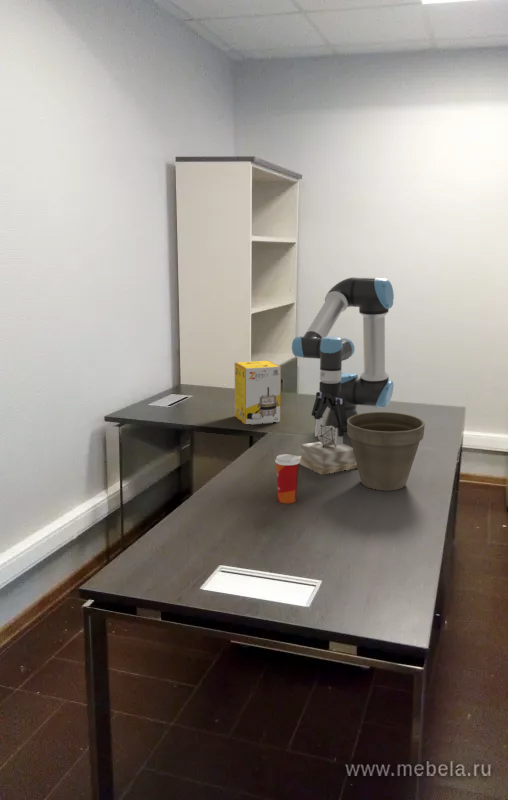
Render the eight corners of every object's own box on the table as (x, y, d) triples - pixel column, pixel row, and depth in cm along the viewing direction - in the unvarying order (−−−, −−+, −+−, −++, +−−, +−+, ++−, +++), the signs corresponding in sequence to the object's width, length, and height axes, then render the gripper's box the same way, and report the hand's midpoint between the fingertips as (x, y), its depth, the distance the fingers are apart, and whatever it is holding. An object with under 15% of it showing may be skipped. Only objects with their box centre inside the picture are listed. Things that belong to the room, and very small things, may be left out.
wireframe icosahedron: (331, 457, 253) (339, 441, 245) (309, 447, 254) (317, 430, 246) (339, 440, 259) (347, 423, 251) (317, 430, 260) (325, 413, 252)
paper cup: (283, 494, 224) (283, 452, 221) (303, 499, 220) (304, 456, 217) (269, 501, 218) (269, 458, 215) (290, 506, 214) (291, 462, 211)
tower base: (334, 454, 266) (334, 437, 265) (363, 467, 251) (364, 449, 250) (293, 460, 258) (293, 443, 257) (321, 475, 243) (321, 456, 241)
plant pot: (370, 501, 218) (373, 434, 213) (331, 477, 240) (333, 415, 235) (436, 490, 228) (440, 425, 223) (392, 468, 250) (395, 408, 245)
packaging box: (268, 413, 328) (268, 360, 322) (280, 422, 313) (281, 366, 307) (234, 416, 323) (234, 362, 317) (245, 425, 308) (245, 368, 302)
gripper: (302, 376, 256) (301, 433, 261) (341, 388, 236) (339, 450, 240) (319, 374, 260) (318, 431, 265) (359, 386, 239) (357, 447, 244)
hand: (328, 440), depth 253 cm, fingers open, 12 cm apart
